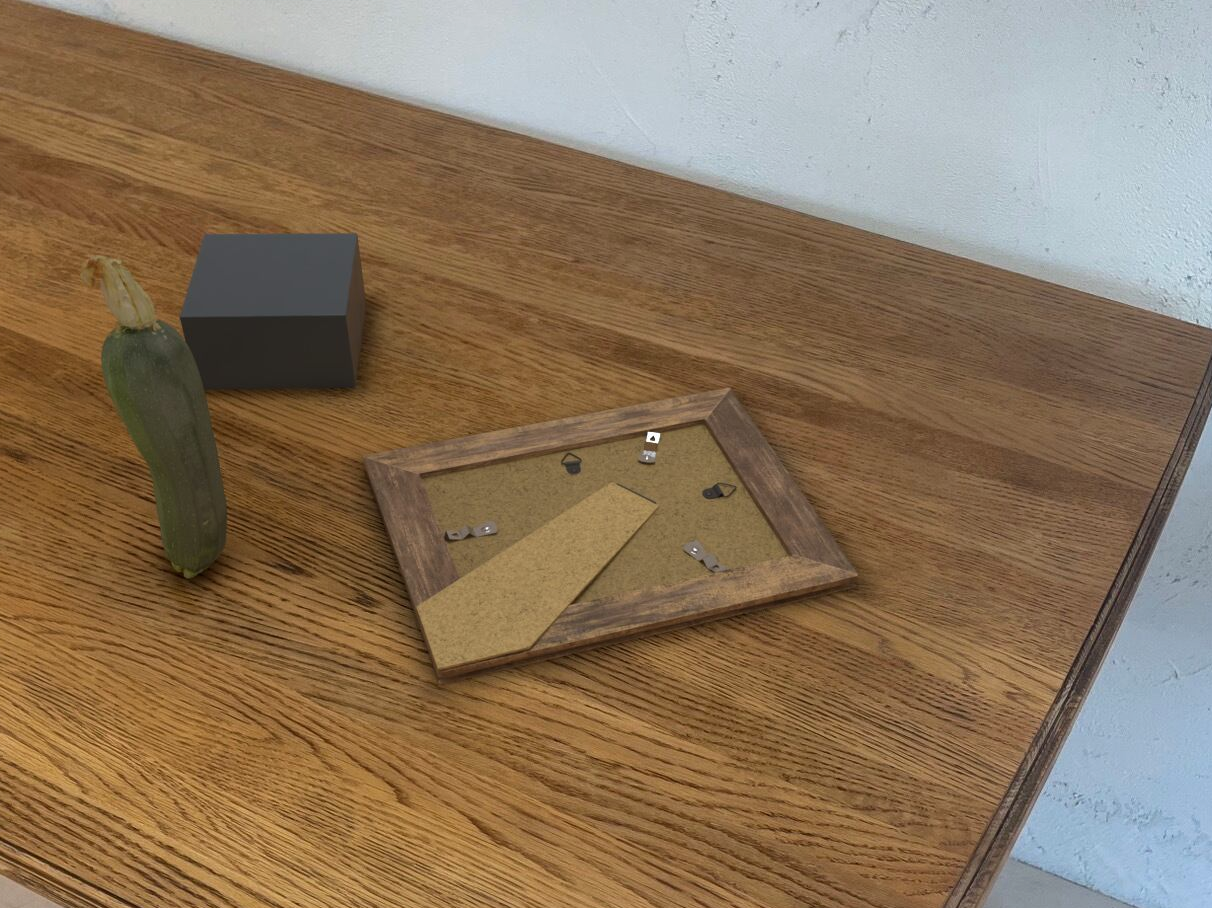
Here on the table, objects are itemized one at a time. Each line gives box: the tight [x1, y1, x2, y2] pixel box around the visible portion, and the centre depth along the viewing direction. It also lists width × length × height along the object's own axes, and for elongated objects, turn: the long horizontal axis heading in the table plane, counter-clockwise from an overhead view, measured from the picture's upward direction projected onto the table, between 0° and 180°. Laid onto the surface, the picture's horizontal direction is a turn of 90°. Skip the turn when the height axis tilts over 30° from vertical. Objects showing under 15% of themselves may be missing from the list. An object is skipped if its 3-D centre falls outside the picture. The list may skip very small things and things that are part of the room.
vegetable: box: [79, 254, 228, 579], centre depth 68 cm, size 4×4×20 cm
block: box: [179, 232, 367, 391], centre depth 88 cm, size 10×10×6 cm
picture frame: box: [362, 387, 859, 685], centre depth 78 cm, size 19×2×24 cm
